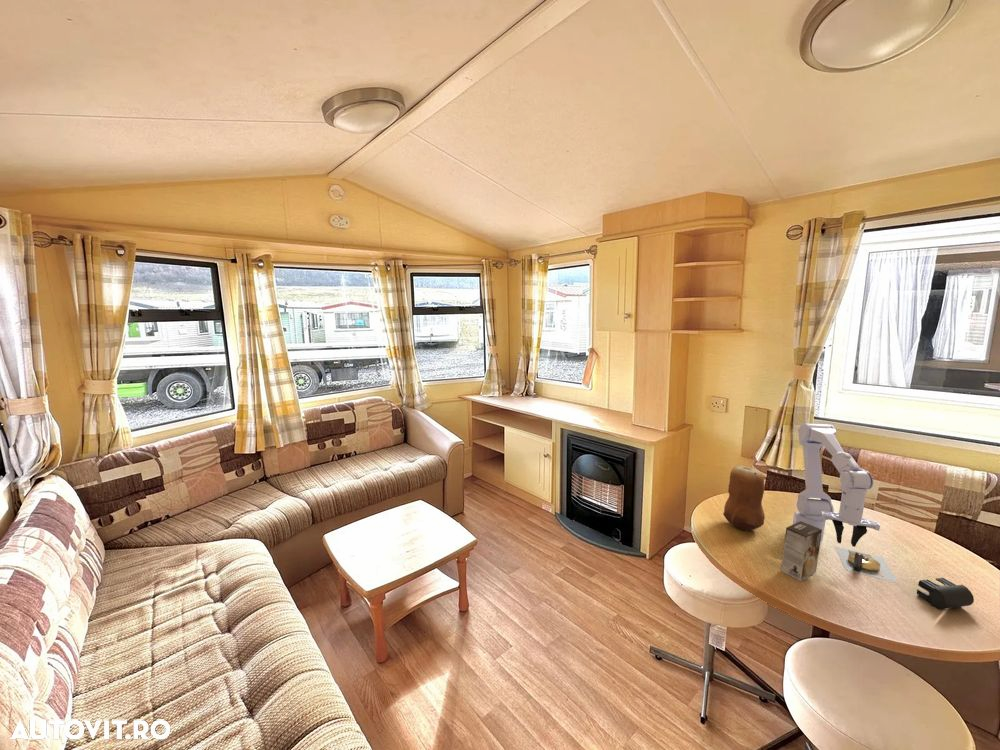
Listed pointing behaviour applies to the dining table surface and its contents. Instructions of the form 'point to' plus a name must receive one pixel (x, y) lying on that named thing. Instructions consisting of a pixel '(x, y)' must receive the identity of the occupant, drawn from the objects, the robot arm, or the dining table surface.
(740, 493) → the butternut squash
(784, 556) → the coffee box
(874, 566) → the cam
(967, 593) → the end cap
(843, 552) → the board
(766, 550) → the dining table surface
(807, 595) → the dining table surface
